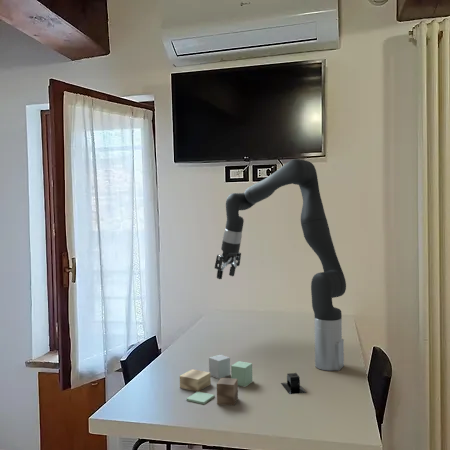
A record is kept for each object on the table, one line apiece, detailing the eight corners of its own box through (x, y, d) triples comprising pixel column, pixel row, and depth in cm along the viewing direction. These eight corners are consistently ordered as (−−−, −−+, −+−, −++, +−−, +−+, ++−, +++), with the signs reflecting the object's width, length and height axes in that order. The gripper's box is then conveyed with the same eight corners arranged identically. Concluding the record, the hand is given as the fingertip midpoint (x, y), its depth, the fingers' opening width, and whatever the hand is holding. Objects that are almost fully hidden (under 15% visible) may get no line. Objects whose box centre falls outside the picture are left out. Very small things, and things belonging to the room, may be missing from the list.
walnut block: (237, 398, 145) (237, 378, 145) (234, 405, 140) (233, 384, 140) (221, 397, 146) (221, 377, 146) (217, 404, 141) (216, 383, 141)
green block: (252, 381, 159) (252, 363, 158) (245, 386, 154) (245, 368, 154) (238, 379, 161) (238, 361, 161) (231, 384, 157) (231, 365, 156)
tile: (214, 396, 146) (214, 394, 146) (204, 404, 141) (203, 402, 141) (197, 393, 149) (197, 391, 149) (186, 400, 144) (186, 398, 144)
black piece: (310, 396, 147) (310, 381, 147) (287, 398, 146) (287, 383, 146) (298, 381, 159) (298, 367, 159) (276, 383, 158) (276, 369, 158)
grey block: (230, 375, 165) (229, 357, 165) (218, 378, 162) (218, 360, 161) (220, 371, 169) (220, 354, 168) (209, 375, 165) (208, 357, 165)
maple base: (210, 385, 157) (210, 372, 157) (198, 392, 151) (198, 379, 151) (192, 381, 161) (192, 369, 160) (179, 388, 155) (179, 375, 154)
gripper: (228, 244, 196) (221, 282, 199) (248, 241, 207) (242, 277, 210) (214, 239, 200) (207, 276, 204) (234, 236, 211) (228, 272, 215)
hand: (225, 277), depth 207 cm, fingers open, 8 cm apart
